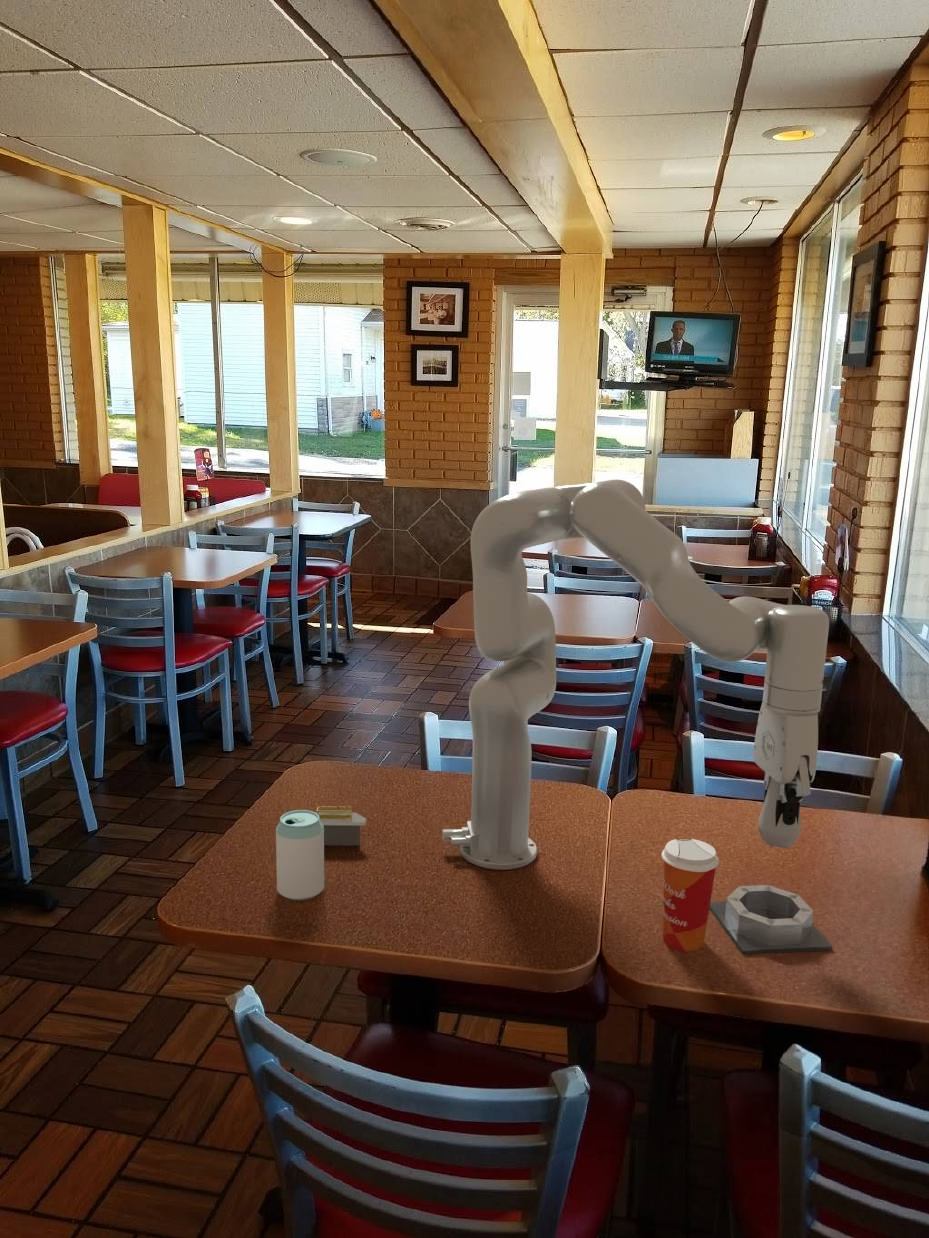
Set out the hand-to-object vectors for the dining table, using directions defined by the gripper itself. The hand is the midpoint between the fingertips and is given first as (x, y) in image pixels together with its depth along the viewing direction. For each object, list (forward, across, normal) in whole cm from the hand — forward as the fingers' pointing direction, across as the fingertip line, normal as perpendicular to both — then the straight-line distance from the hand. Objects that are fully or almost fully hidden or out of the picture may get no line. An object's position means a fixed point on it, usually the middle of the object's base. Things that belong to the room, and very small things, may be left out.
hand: (779, 820), depth 135 cm
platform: (+17, -32, -62) cm, 72 cm away
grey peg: (+3, 0, 0) cm, 3 cm away
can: (+16, -16, -67) cm, 71 cm away
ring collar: (+17, 0, 0) cm, 17 cm away
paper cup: (+17, +2, -14) cm, 22 cm away
